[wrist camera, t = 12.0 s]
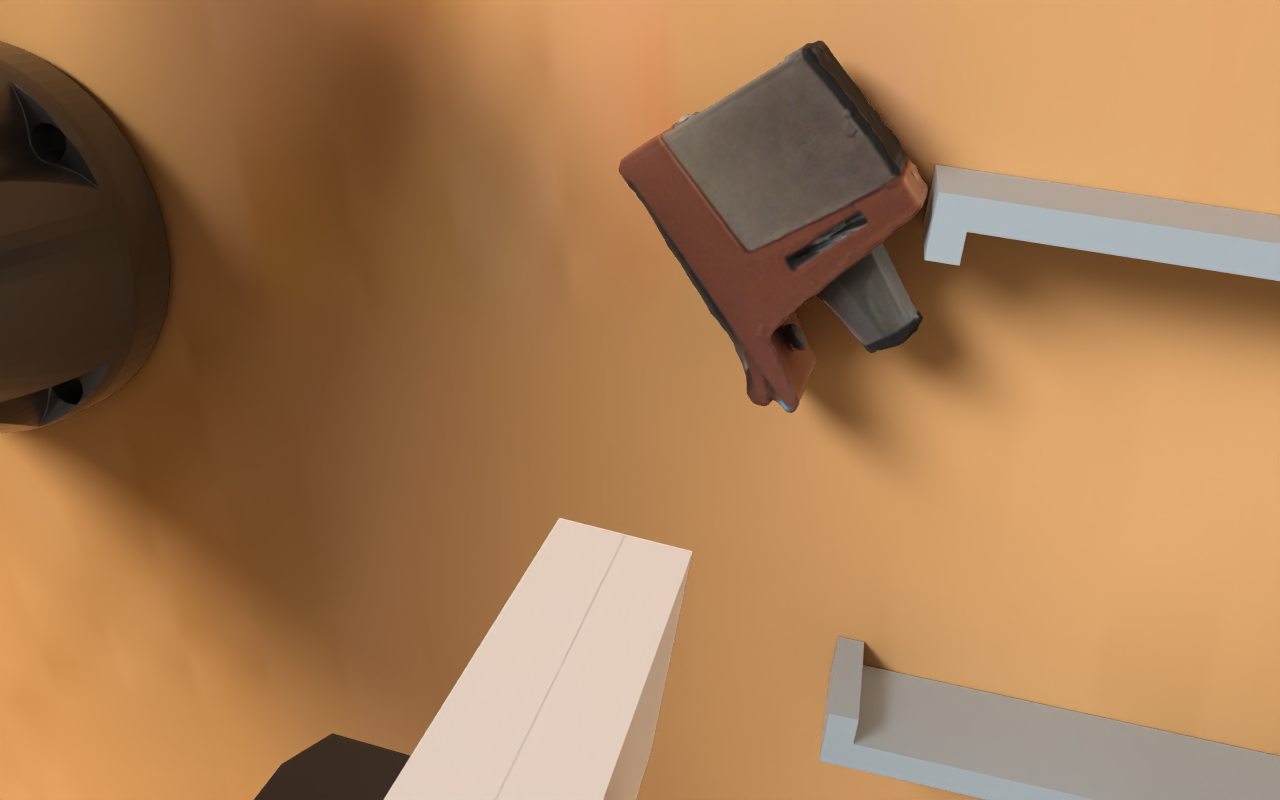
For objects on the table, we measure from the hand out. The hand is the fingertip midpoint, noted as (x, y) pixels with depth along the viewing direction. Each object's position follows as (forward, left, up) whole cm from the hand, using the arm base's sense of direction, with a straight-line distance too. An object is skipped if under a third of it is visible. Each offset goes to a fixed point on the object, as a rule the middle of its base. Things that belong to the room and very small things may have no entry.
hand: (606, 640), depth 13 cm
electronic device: (-3, -5, -23) cm, 24 cm away
